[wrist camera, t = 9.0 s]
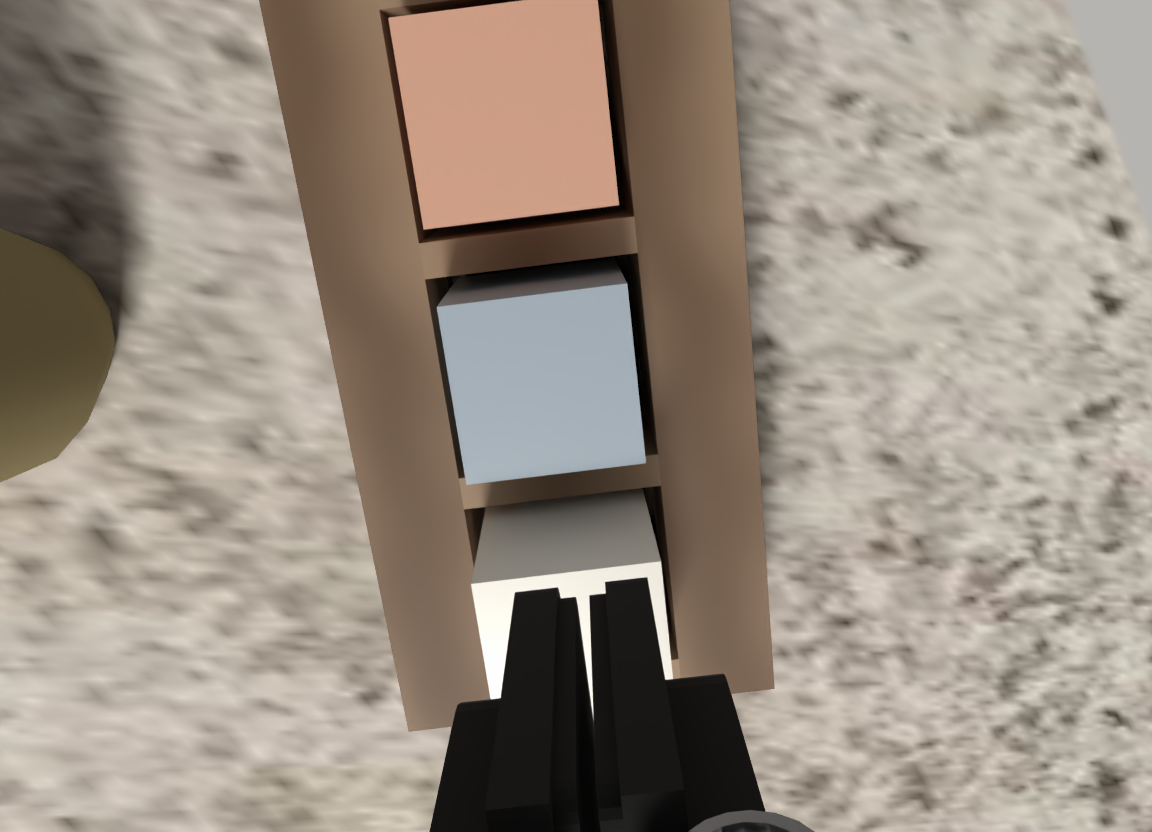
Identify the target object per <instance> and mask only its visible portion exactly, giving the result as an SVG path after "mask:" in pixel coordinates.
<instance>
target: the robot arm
mask: <svg viewBox="0 0 1152 832" xmlns="http://www.w3.org/2000/svg"><path fill="white" fill-rule="evenodd" d="M605 591H606V593H605V594H596V595H589V603H590V632H591V661H592V689H593V713H592V706H591V698H590V691H589V684H588V677H587V669H586V662H585V655H584V647H583V640H582V633H581V626H580V618H579V611H578V604H577V599H576V597H570V598H561V597H560V592H559V589H558V587H556V588H548V589H539V590H530V591H521V592H515V595H514V602H513V609H512V616H511V624H510V631H509V639H508V646H507V653H506V661H505V668H504V675H503V683H502V690H501V698H497V699H488V700H479V701H470V702H461V703H459V704H458V705H457V708H456V711H455V715H454V720H453V725H452V729H451V734H450V739H449V743H448V748H447V753H446V757H445V762H444V767H443V771H442V776H441V781H440V785H439V790H438V795H437V799H436V804H435V809H434V814H433V818H432V823H431V828H430V832H814V831H813V830H811V829H810V828H808V827H807V826H805V825H803V824H802V823H800V822H799V821H797V820H794V819H791V818H788V817H785V816H783V815H780V814H777V813H772V812H765V808H764V805H763V801H762V798H761V795H760V791H759V788H758V784H757V781H756V777H755V774H754V771H753V767H752V764H751V760H750V757H749V753H748V750H747V747H746V743H745V740H744V736H743V733H742V730H741V726H740V723H739V719H738V716H737V712H736V709H735V706H734V702H733V699H732V695H731V692H730V688H729V685H728V682H727V679H726V676H725V674H714V675H705V676H696V677H687V678H678V679H669V680H665V675H664V670H663V664H662V658H661V652H660V647H659V641H658V635H657V629H656V624H655V618H654V612H653V606H652V601H651V595H650V589H649V583H648V578H647V577H644V578H635V579H626V580H618V581H609V582H605ZM593 718H594V720H593Z"/></svg>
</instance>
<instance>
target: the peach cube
mask: <svg viewBox="0 0 1152 832" xmlns="http://www.w3.org/2000/svg"><path fill="white" fill-rule="evenodd" d="M388 19H389V25H390V31H391V37H392V43H393V49H394V55H395V61H396V67H397V73H398V79H399V85H400V91H401V97H402V103H403V109H404V115H405V121H406V127H407V133H408V139H409V145H410V151H411V157H412V163H413V169H414V175H415V181H416V187H417V193H418V199H419V205H420V211H421V217H422V223H423V229H424V230H425V229H433V228H440V227H448V226H456V225H464V224H472V223H480V222H488V221H496V220H504V219H512V218H520V217H528V216H536V215H544V214H552V213H560V212H568V211H576V210H584V209H592V208H600V207H608V206H616V205H619V200H618V190H617V180H616V171H615V161H614V152H613V142H612V133H611V123H610V114H609V104H608V94H607V85H606V75H605V66H604V56H603V47H602V37H601V28H600V18H599V8H598V0H522V1H514V2H506V3H499V4H491V5H483V6H475V7H468V8H460V9H452V10H444V11H437V12H429V13H421V14H413V15H406V16H398V17H390V18H388Z"/></svg>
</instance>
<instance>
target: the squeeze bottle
mask: <svg viewBox="0 0 1152 832" xmlns="http://www.w3.org/2000/svg"><path fill="white" fill-rule="evenodd" d="M115 344H116V343H115V337H114V330H113V324H112V318H111V312H110V308H109V307H108V305H107V303H106V302H105V300H104V298H103V297H102V295H101V293H100V291H99V290H98V288H97V286H96V285H95V283H94V281H93V279H92V278H91V277H90V276H89V275H88V274H87V273H86V272H84V271H83V270H82V269H81V268H80V267H78V266H77V265H76V264H75V263H74V262H72V261H71V260H70V259H69V258H68V257H67V256H65V255H64V254H63V253H62V252H59V251H57V250H54V249H52V248H49V247H47V246H44V245H42V244H39V243H37V242H34V241H32V240H29V239H27V238H24V237H22V236H19V235H17V234H14V233H12V232H9V231H6V230H4V229H1V228H0V482H2V481H5V480H7V479H9V478H12V477H14V476H16V475H18V474H21V473H23V472H25V471H28V470H30V469H32V468H34V467H37V466H39V465H41V464H44V463H46V462H48V461H51V460H53V459H55V458H57V457H58V456H59V454H60V453H61V452H62V451H63V450H64V449H65V447H66V446H67V445H68V444H69V443H70V442H71V441H72V439H73V438H74V437H75V436H76V435H77V434H78V432H79V431H80V430H81V429H82V428H83V427H84V426H85V424H86V423H87V422H88V420H89V417H90V415H91V412H92V410H93V408H94V405H95V403H96V401H97V398H98V396H99V394H100V391H101V389H102V387H103V384H104V382H105V380H106V377H107V375H108V371H109V367H110V363H111V360H112V356H113V352H114V348H115Z"/></svg>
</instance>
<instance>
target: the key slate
mask: <svg viewBox="0 0 1152 832" xmlns="http://www.w3.org/2000/svg"><path fill="white" fill-rule="evenodd" d="M437 312H438V318H439V324H440V330H441V336H442V342H443V348H444V354H445V360H446V366H447V372H448V378H449V384H450V390H451V396H452V402H453V408H454V414H455V420H456V426H457V432H458V438H459V444H460V449H461V455H462V461H463V467H464V473H465V479H466V485H470V484H479V483H487V482H495V481H503V480H512V479H520V478H528V477H536V476H545V475H553V474H561V473H570V472H578V471H586V470H594V469H603V468H611V467H619V466H627V465H636V464H644V463H646V458H645V448H644V439H643V429H642V420H641V410H640V401H639V391H638V381H637V372H636V362H635V353H634V343H633V334H632V324H631V315H630V305H629V295H628V286H627V282H626V280H625V278H624V276H623V274H622V272H621V270H620V268H619V266H618V264H617V262H616V260H615V258H614V259H606V260H598V261H590V262H582V263H574V264H566V265H558V266H550V267H542V268H534V269H526V270H518V271H510V272H502V273H493V274H485V275H477V276H469V277H461V278H457V280H456V281H455V282H454V284H453V285H452V287H451V288H450V289H449V291H448V292H447V293H446V295H445V296H444V298H443V299H442V300H441V302H440V303H439V304H438V306H437Z"/></svg>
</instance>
